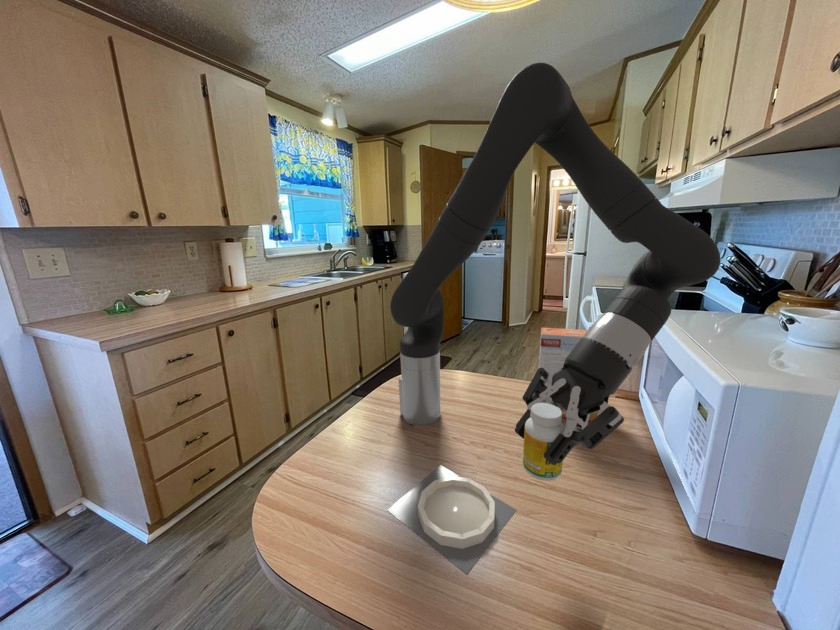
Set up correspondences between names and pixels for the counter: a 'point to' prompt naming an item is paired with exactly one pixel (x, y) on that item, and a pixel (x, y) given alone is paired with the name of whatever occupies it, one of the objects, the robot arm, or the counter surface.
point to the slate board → (459, 557)
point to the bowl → (456, 512)
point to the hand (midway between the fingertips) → (533, 447)
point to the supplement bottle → (542, 441)
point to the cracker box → (558, 351)
